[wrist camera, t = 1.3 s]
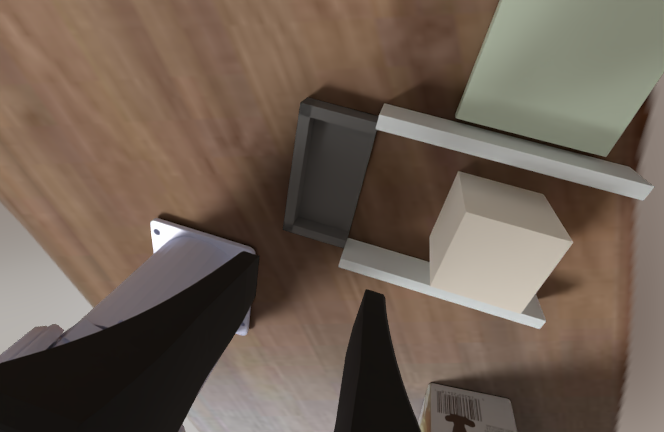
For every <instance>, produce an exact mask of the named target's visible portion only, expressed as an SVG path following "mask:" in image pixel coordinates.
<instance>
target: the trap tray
mask: <svg viewBox="0 0 664 432" xmlns="http://www.w3.org/2000/svg"><path fill="white" fill-rule="evenodd" d="M378 117H379V116H376V115H372V114H369V113H365V112H361V111H357V110H353V109H350V108H346V107H342V106H338V105H334V104H331V103H327V102H323V101H319V100H315V99H312V98H308V97H307V98H306V99H305V100H303V101H302V102H301V103H300V109H299V116H298V124H297V131H296V138H295V145H294V152H293V160H292V167H291V174H290V181H289V189H288V196H287V203H286V210H285V217H284V225H283V230H285V231H288V232H291V233H295V234H298V235H301V236H305V237H308V238H311V239H314V240H318V241H321V242H324V243H328V244H331V245H334V246H338V247H341V248H344V247H345V244H346V241H347V238H348V235H349V231H350V228H351V224H352V220H353V217H354V213H355V209H356V205H357V202H358V198H359V194H360V191H361V187H362V183H363V180H364V176H365V172H366V169H367V165H368V161H369V158H370V154H371V150H372V147H373V143H374V139H375V136H376V132H377V129H376V125H377V121H378Z"/></svg>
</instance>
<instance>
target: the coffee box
mask: <svg viewBox="0 0 664 432" xmlns="http://www.w3.org/2000/svg"><path fill="white" fill-rule="evenodd" d="M418 424H419V427H420V429H421V432H517V427H516V423H515V418H514V414H513V409H512V405H511V401H510V400H509V399H507V398H502V397H497V396H493V395H488V394H483V393H478V392H473V391H468V390H463V389H458V388H454V387H449V386H444V385H439V384H435V383H430V384H429V385H428V389H427V392H426V395H425V399H424V403H423V406H422V410H421V414H420V417H419V421H418Z"/></svg>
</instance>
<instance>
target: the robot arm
mask: <svg viewBox="0 0 664 432" xmlns="http://www.w3.org/2000/svg"><path fill="white" fill-rule="evenodd" d="M150 226H151V234H152V242H153V250H154V254H153V255H152V256H151V257H150V258H149V259H148V260H146V261H145V262H144V263H143V264H142V265H141V266H140V267H139V268H138V269H136V270H135V271H134V272H133V273H132V274H131V275H130V276H129V277H128V278H127V279H125V280H124V281H123V282H122V283H121V284H120V285H119V286H118V287H117V288H115V289H114V290H113V291H112V292H111V293H110V294H109V295H108V296H107V297H106V298H104V299H103V300H102V301H101V302H100V303H99V304H98V305H97V306H96V307H94V308H93V309H92V310H91V311H90V312H89V313H88V314H87V315H86V316H84V318H82V319H81V320H80V321H79V322H78V323H77V324H75V325H74V326H73V327H71V328H70V329H68V330H67V331H65V332H64V333H63V331H64V330H63V329H62V328H60V327H59V326H58V325H56V324H52V325H50V326H49V327H47V326H40V327H35V328H33V329H32V330H31V331H29V332H28V333H27V334H26V335H24V336H23V337H22V338H21V339H19V340H18V341H17V342H16V343H14V344H13V345H12V346H11V347H9V348H8V349H7V350H6V351H5V352H3V353H2V354H1V355H0V432H185V429H184V426H183V425H182V423H183V421H184V419H185V417H186V416H187V414H188V412H189V410H190V408H191V406H192V404H193V402H194V400H195V398H196V396H197V395H198V394H199V392H200V391H201V389H202V387H203V386H204V384H205V382H206V380H207V379H208V377H209V375H210V374H211V372H212V370H213V369H214V367H215V365H216V364H217V362H218V360H219V358H220V357H221V355H222V353H223V352H224V350H225V349H226V347H227V346H228V344H229V343H230V341H231V339H232V338H233V336H234V335H235V333H237V334H240V335H246V334H247V333H248V331H249V321H250V309H251V304H252V302H253V300H254V298H255V296H256V286H257V275H258V265H259V256H258V255H255V251H254V249H253V248H251V247H249V246H246V245H243V244H240V243H237V242H233V241H230V240H227V239H224V238H220V237H217V236H214V235H211V234H208V233H204V232H201V231H198V230H195V229H191V228H188V227H185V226H182V225H178V224H175V223H172V222H169V221H166V220H162V219H159V218H155V219H153V220H152V221H151V222H150ZM158 230H159V231H158ZM334 432H421V429H420V427H419V424H418V422H417V419H416V417H415V415H414V412H413V409H412V407H411V404H410V401H409V399H408V396H407V393H406V390H405V387H404V384H403V381H402V378H401V375H400V371H399V368H398V364H397V361H396V357H395V353H394V349H393V345H392V340H391V336H390V331H389V325H388V320H387V313H386V302H385V297H384V295H383V294H380V293H377V292H374V291H370V290H367V289H366V291H365V293H364V296H363V299H362V302H361V305H360V308H359V311H358V314H357V317H356V320H355V323H354V325H353V329H352V333H351V337H350V340H349V344H348V348H347V352H346V357H345V364H344V371H343V377H342V384H341V391H340V398H339V404H338V411H337V418H336V424H335V429H334Z"/></svg>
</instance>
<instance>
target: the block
mask: <svg viewBox="0 0 664 432" xmlns="http://www.w3.org/2000/svg"><path fill="white" fill-rule="evenodd" d="M429 244H430V286H431V287H434V288H437V289H441V290H444V291H447V292H450V293H454V294H457V295H460V296H463V297H467V298H470V299H473V300H477V301H480V302H483V303H486V304H490V305H493V306H496V307H499V308H503V309H506V310H509V311H513V312H516V313H519V314H521V313H522V312H523V310H524V309H525V308H526V306H527V305H528V303H529V302H530V301H531V299H532V298H533V297H534V295H535V294H536V293H537V291H538V290H539V288H540V287H541V286H542V284H543V283H544V282H545V280H546V279H547V278H548V276H549V275H550V273H551V272H552V271H553V269H554V268H555V267H556V265H557V264H558V263H559V261H560V260H561V259H562V257H563V256H564V254H565V253H566V252H567V250H568V249H569V248H570V246H571V245H572V244H573V241H572V239H571V238H570V236H569V234H568V233H567V231H566V230H565V228H564V226H563V225H562V223H561V222H560V220H559V218H558V217H557V215H556V214H555V212H554V210H553V209H552V207H551V205H550V204H549V202H548V201H547V199H546V197H545V196H544V194H541V193H537V192H533V191H530V190H526V189H522V188H519V187H515V186H511V185H508V184H504V183H500V182H497V181H493V180H489V179H486V178H482V177H478V176H475V175H471V174H467V173H464V172H460V171H458V173H457V175H456V177H455V180H454V182H453V184H452V186H451V189H450V191H449V193H448V196H447V198H446V200H445V202H444V205H443V207H442V209H441V212H440V214H439V216H438V219H437V221H436V223H435V225H434V228H433V230H432V232H431V235H430V237H429Z"/></svg>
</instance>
